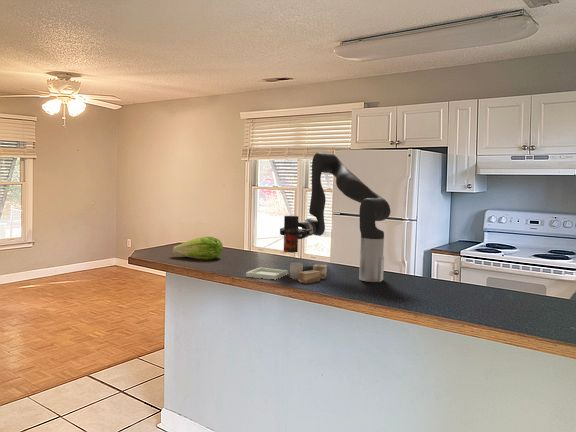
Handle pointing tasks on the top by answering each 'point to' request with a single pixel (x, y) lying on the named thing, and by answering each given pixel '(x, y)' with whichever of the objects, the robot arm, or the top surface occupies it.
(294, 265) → the grey cylinder
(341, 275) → the top surface
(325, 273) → the maple cube
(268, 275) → the tray
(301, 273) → the beech brick
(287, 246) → the deodorant
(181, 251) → the lettuce
